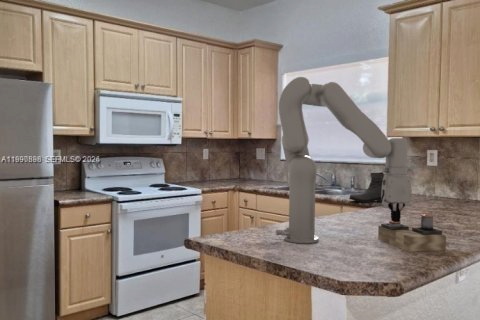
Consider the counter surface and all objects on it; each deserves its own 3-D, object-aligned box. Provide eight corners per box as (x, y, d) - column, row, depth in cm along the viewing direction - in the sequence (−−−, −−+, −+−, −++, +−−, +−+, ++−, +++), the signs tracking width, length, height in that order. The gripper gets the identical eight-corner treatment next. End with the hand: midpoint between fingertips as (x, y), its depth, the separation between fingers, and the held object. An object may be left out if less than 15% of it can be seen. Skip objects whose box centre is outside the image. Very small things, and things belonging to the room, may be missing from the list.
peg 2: (425, 234, 149) (425, 215, 148) (418, 232, 153) (418, 214, 152) (435, 234, 149) (435, 215, 149) (428, 232, 153) (428, 213, 153)
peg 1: (392, 240, 156) (392, 222, 156) (386, 237, 160) (387, 220, 160) (402, 239, 157) (402, 222, 157) (396, 237, 161) (396, 220, 161)
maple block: (408, 251, 144) (409, 233, 143) (378, 238, 163) (378, 222, 163) (445, 250, 146) (446, 232, 146) (411, 237, 166) (411, 221, 166)
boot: (346, 201, 277) (346, 171, 276) (387, 200, 282) (388, 171, 281) (352, 203, 267) (353, 172, 266) (395, 202, 272) (396, 172, 271)
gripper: (383, 172, 153) (382, 223, 153) (420, 172, 155) (419, 222, 156) (372, 171, 160) (372, 220, 161) (408, 170, 163) (408, 218, 163)
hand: (395, 221), depth 158 cm, fingers closed
